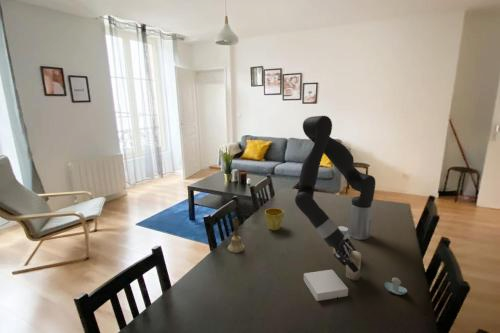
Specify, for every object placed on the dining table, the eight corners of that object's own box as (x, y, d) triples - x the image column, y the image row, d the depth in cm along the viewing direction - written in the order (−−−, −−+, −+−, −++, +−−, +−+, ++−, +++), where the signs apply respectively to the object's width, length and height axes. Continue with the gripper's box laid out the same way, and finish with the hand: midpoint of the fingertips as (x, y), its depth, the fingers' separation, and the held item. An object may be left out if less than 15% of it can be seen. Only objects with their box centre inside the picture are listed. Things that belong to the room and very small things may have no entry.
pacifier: (386, 283, 108) (382, 291, 104) (388, 268, 107) (384, 276, 102) (408, 290, 104) (405, 299, 99) (410, 275, 103) (407, 283, 98)
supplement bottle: (340, 259, 124) (342, 233, 121) (330, 252, 130) (331, 227, 127) (351, 255, 127) (353, 229, 124) (340, 249, 133) (342, 224, 130)
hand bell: (234, 242, 140) (234, 212, 136) (248, 247, 135) (248, 216, 132) (224, 249, 133) (223, 218, 130) (237, 254, 129) (237, 222, 125)
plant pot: (262, 230, 153) (262, 213, 150) (268, 222, 162) (268, 206, 160) (280, 233, 149) (280, 216, 146) (285, 225, 158) (285, 209, 156)
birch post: (354, 271, 115) (356, 249, 113) (361, 279, 110) (364, 256, 108) (343, 273, 114) (344, 251, 112) (350, 281, 109) (351, 258, 107)
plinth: (331, 276, 113) (332, 269, 112) (347, 295, 101) (348, 288, 100) (303, 280, 110) (303, 273, 109) (316, 301, 99) (317, 293, 98)
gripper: (331, 234, 106) (361, 273, 102) (341, 221, 118) (369, 255, 114) (317, 243, 110) (346, 280, 106) (328, 229, 122) (355, 262, 118)
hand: (358, 267), depth 110 cm, fingers closed on birch post, 5 cm apart
